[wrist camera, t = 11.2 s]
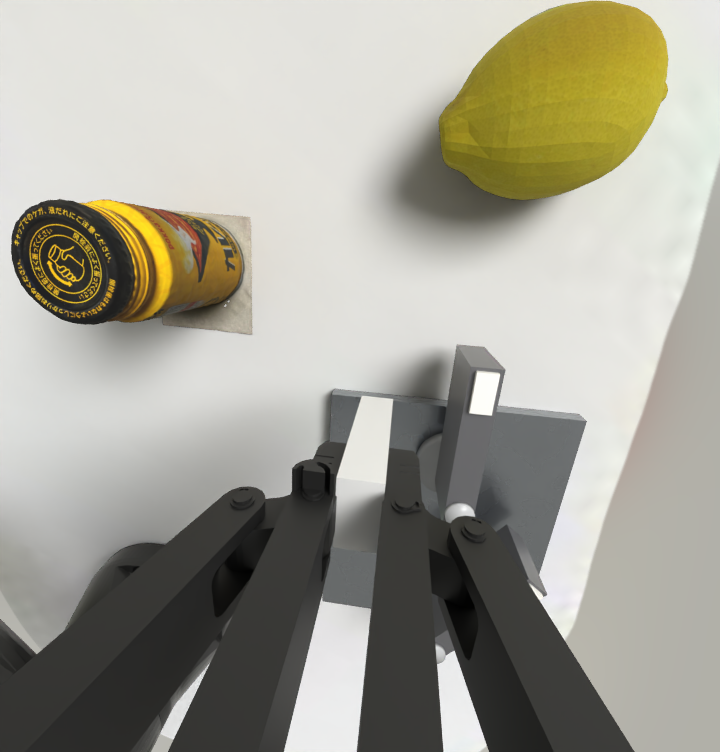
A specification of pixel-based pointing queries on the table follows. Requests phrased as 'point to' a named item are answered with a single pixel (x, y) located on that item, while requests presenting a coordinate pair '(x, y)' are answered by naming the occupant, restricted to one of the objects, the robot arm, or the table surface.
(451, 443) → the grey lever handle
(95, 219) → the condiment
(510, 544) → the grey lever handle
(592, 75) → the lemon
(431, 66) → the table surface
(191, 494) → the table surface
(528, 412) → the plate
